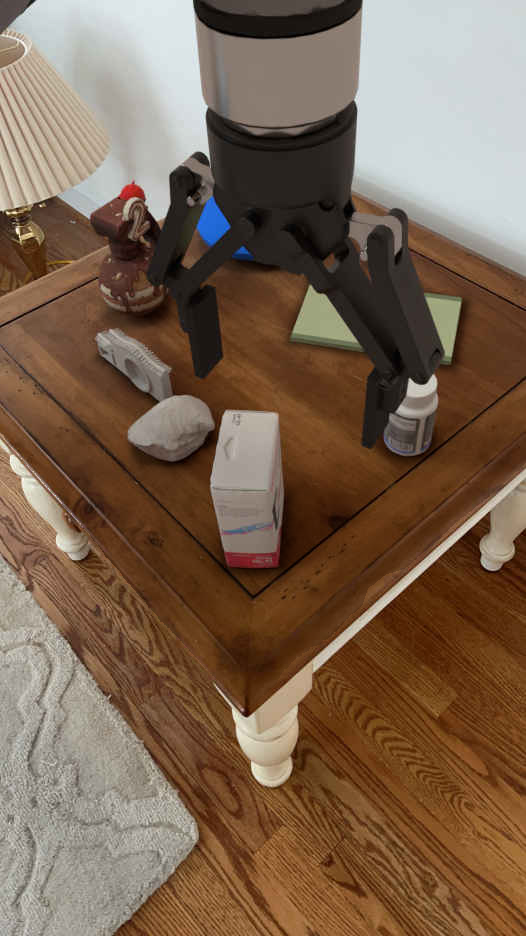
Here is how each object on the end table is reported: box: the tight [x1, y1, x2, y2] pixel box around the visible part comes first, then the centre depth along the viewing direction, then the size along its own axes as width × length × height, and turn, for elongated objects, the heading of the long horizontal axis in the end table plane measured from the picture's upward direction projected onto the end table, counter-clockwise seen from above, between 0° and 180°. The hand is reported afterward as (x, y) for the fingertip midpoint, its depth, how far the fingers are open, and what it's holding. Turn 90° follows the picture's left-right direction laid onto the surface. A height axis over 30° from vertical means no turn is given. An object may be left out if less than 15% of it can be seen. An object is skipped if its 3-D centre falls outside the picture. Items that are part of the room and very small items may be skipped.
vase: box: [196, 196, 254, 261], centre depth 95 cm, size 16×16×7 cm
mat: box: [290, 283, 463, 366], centre depth 86 cm, size 18×11×1 cm, turn 75°
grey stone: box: [127, 394, 216, 462], centre depth 75 cm, size 9×8×5 cm
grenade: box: [89, 179, 169, 317], centre depth 84 cm, size 9×8×15 cm
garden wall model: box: [94, 328, 174, 403], centre depth 80 cm, size 12×2×6 cm, turn 44°
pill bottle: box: [383, 374, 439, 457], centre depth 72 cm, size 5×5×8 cm
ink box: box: [209, 409, 285, 569], centre depth 65 cm, size 9×5×12 cm, turn 174°
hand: (288, 399), depth 53 cm, fingers open, 13 cm apart
